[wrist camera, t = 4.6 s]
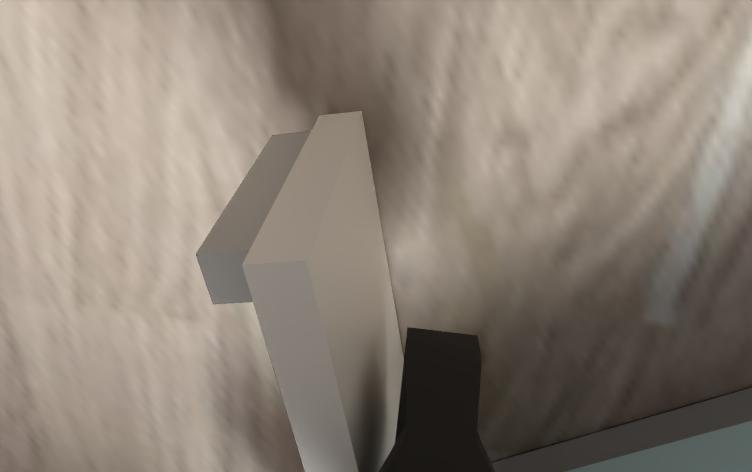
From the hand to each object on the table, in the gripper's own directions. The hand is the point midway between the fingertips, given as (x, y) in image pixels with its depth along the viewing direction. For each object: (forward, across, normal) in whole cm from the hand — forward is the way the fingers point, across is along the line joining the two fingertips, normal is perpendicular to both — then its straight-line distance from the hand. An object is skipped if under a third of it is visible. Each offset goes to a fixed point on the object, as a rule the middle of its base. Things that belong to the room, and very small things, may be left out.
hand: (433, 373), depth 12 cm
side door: (+2, +2, +1) cm, 3 cm away
